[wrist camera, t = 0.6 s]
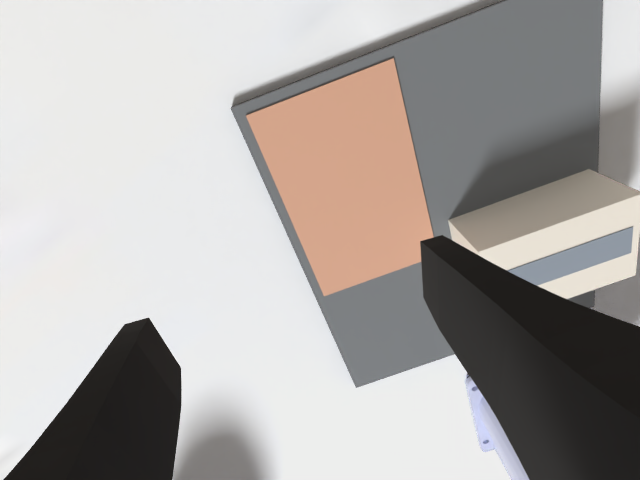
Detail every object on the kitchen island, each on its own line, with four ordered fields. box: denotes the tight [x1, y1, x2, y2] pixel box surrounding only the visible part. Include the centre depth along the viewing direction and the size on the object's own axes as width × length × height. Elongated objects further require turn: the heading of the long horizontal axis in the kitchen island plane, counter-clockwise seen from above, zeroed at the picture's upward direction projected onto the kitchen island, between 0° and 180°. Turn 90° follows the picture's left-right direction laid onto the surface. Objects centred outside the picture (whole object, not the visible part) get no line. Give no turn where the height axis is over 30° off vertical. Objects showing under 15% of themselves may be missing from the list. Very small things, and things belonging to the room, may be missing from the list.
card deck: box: [448, 169, 640, 299], centre depth 21 cm, size 5×8×4 cm, turn 109°
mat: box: [231, 0, 603, 388], centre depth 22 cm, size 20×17×1 cm
